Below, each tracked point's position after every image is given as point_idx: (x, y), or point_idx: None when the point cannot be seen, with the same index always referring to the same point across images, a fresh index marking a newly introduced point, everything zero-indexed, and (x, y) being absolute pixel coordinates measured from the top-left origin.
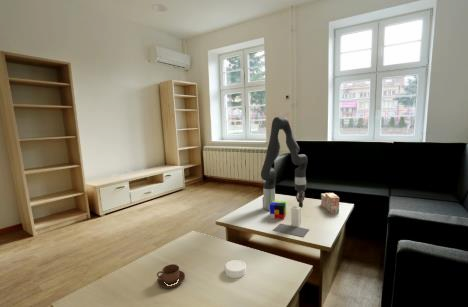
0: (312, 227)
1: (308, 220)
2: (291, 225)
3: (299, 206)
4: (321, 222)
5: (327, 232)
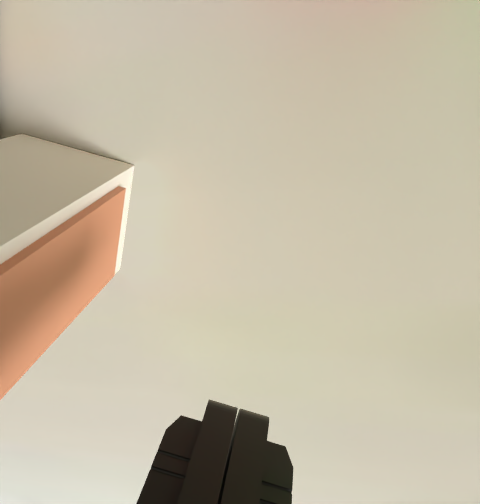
0: (78, 390)
1: (291, 361)
2: (20, 137)
3: (170, 430)
4: None
5: (22, 494)
